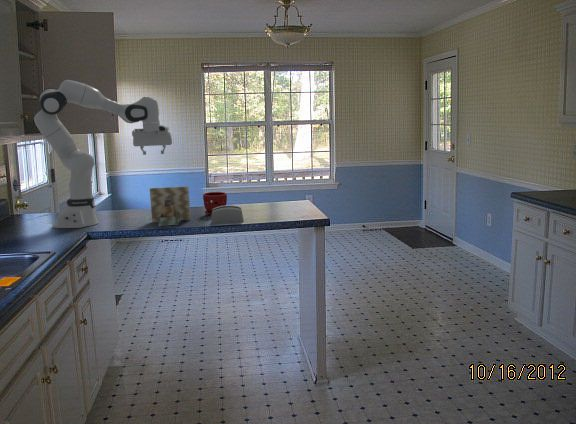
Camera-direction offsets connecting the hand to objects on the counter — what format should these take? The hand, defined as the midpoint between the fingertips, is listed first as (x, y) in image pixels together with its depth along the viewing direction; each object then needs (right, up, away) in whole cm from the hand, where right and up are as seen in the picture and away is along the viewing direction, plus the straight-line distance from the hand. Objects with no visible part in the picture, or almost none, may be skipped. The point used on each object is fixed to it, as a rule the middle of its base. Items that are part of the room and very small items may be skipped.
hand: (153, 154), depth 297 cm
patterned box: (+11, -37, -9) cm, 39 cm away
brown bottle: (+10, -35, -9) cm, 38 cm away
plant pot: (+32, -33, +13) cm, 47 cm away
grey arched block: (+41, -36, -10) cm, 56 cm away
